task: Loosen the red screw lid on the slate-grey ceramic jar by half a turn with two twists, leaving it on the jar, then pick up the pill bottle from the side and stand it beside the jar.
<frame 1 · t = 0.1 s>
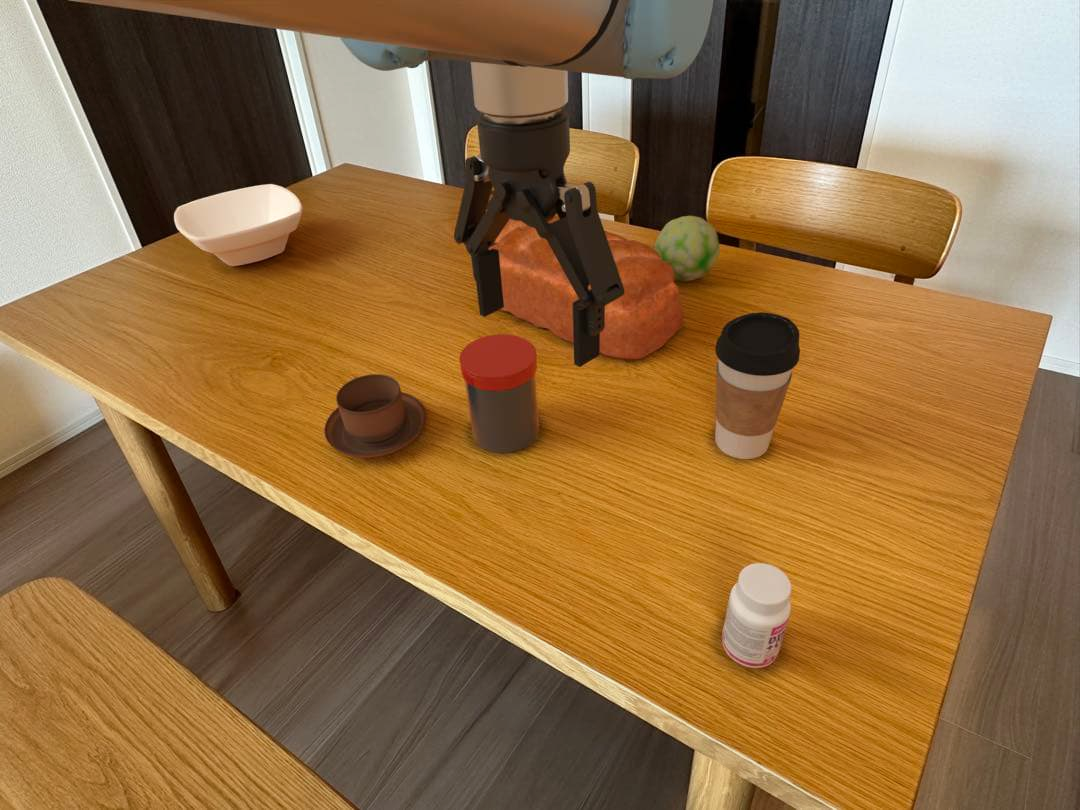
hand: (536, 334, 69), 17 cm above the table, tool pointing down, fingers open, 13 cm apart
jar: (506, 430, 83), on the table
bread: (577, 312, 104), on the table
jar lid: (498, 357, 77), point 11 cm above the table, screwed on, not yet turned
cup and saucer: (378, 434, 84), on the table
pill bottle: (749, 645, 59), on the table
decorative ball: (684, 278, 111), on the table
bowl: (253, 255, 126), on the table
coffee cup: (741, 443, 80), on the table
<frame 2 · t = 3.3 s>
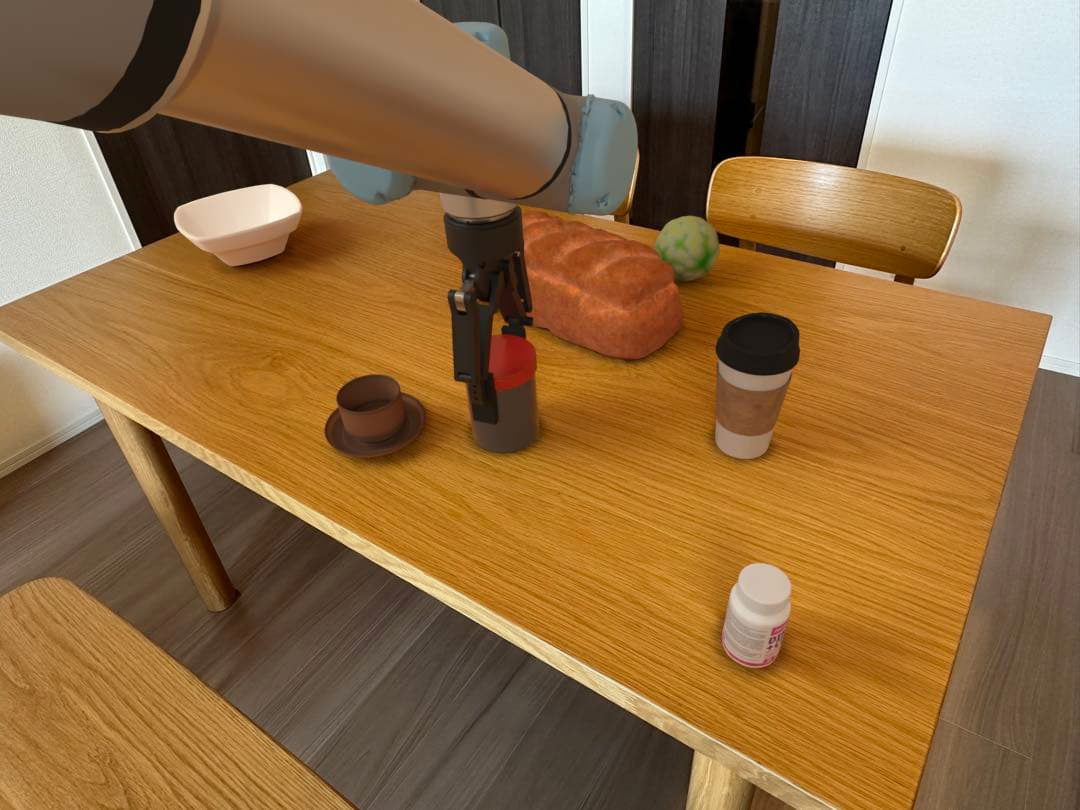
hand: (502, 396, 80), 5 cm above the table, tool pointing down, fingers closed on jar lid, 8 cm apart
jar lid: (498, 357, 77), point 11 cm above the table, screwed on, not yet turned, touching gripper
everything else where it was.
when the fingers open (5 cm above the table, at t = 5.0 s): jar lid stays where it is, point 11 cm above the table.
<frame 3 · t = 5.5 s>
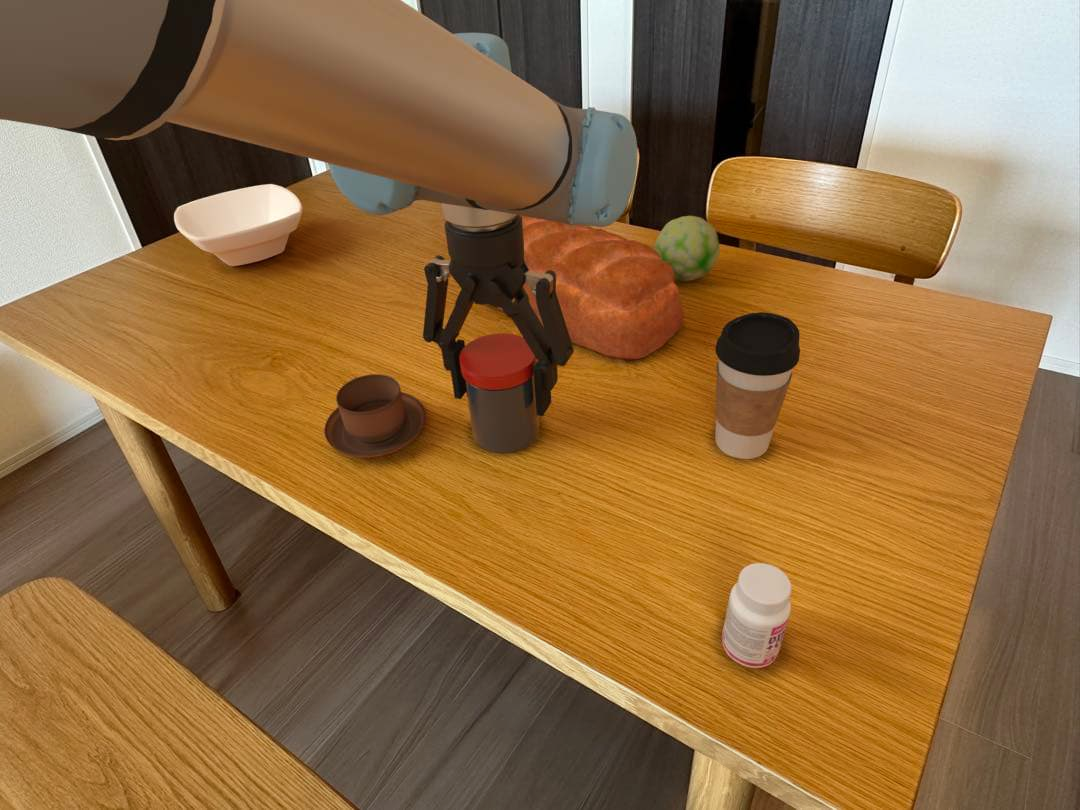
hand: (502, 400, 80), 5 cm above the table, tool pointing down, fingers open, 10 cm apart
jar lid: (498, 356, 77), point 11 cm above the table, turned 89° so far, risen 0.1 cm, still on its thread
everything else where it was.
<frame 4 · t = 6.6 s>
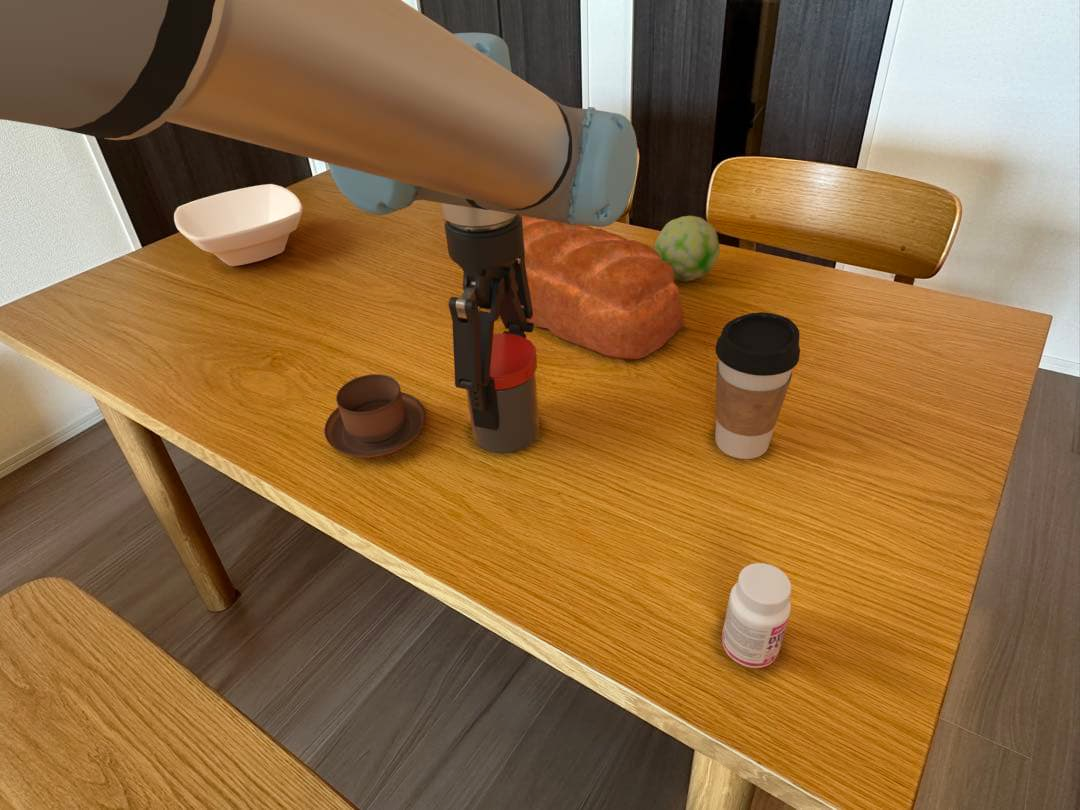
hand: (502, 402, 80), 4 cm above the table, tool pointing down, fingers closed on jar lid, 8 cm apart
jar lid: (498, 356, 77), point 11 cm above the table, turned 89° so far, risen 0.1 cm, still on its thread, touching gripper
everything else where it was.
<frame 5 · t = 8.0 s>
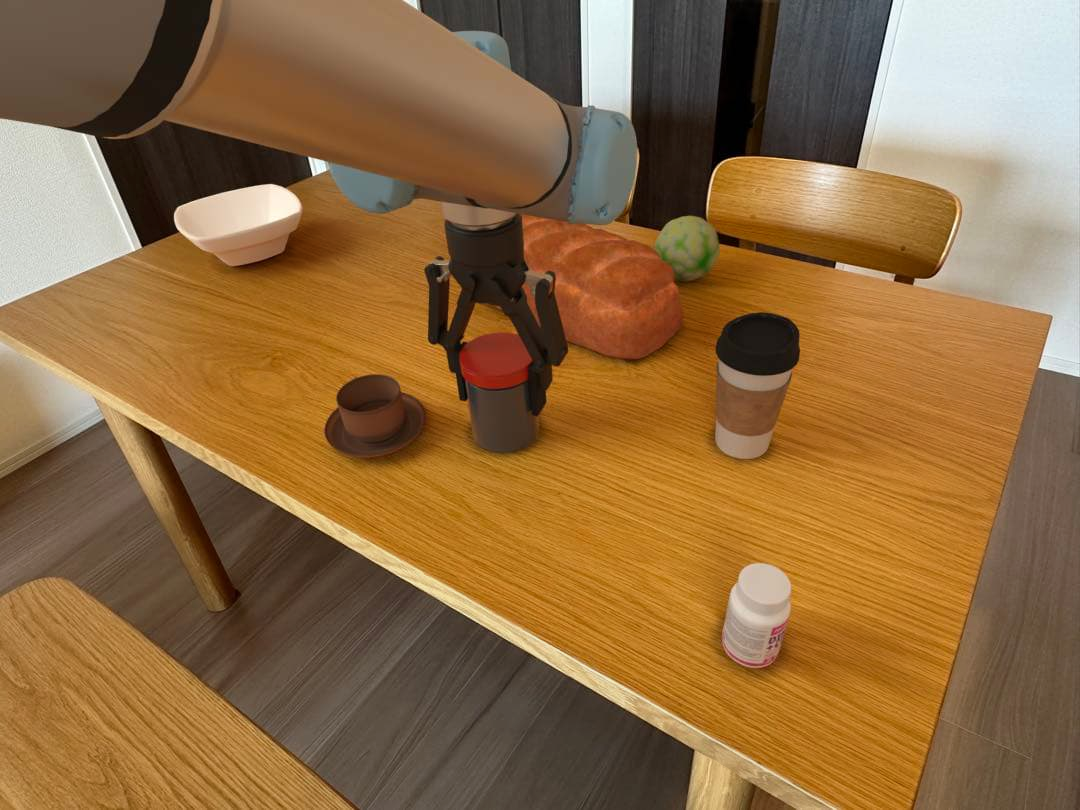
hand: (502, 401, 80), 4 cm above the table, tool pointing down, fingers closed on jar lid, 8 cm apart
jar lid: (497, 355, 76), point 11 cm above the table, turned 179° so far, risen 0.2 cm, still on its thread, touching gripper
everything else where it was.
when the fingers open (4 cm above the table, at t = 8.2 s): jar lid stays where it is, point 11 cm above the table.
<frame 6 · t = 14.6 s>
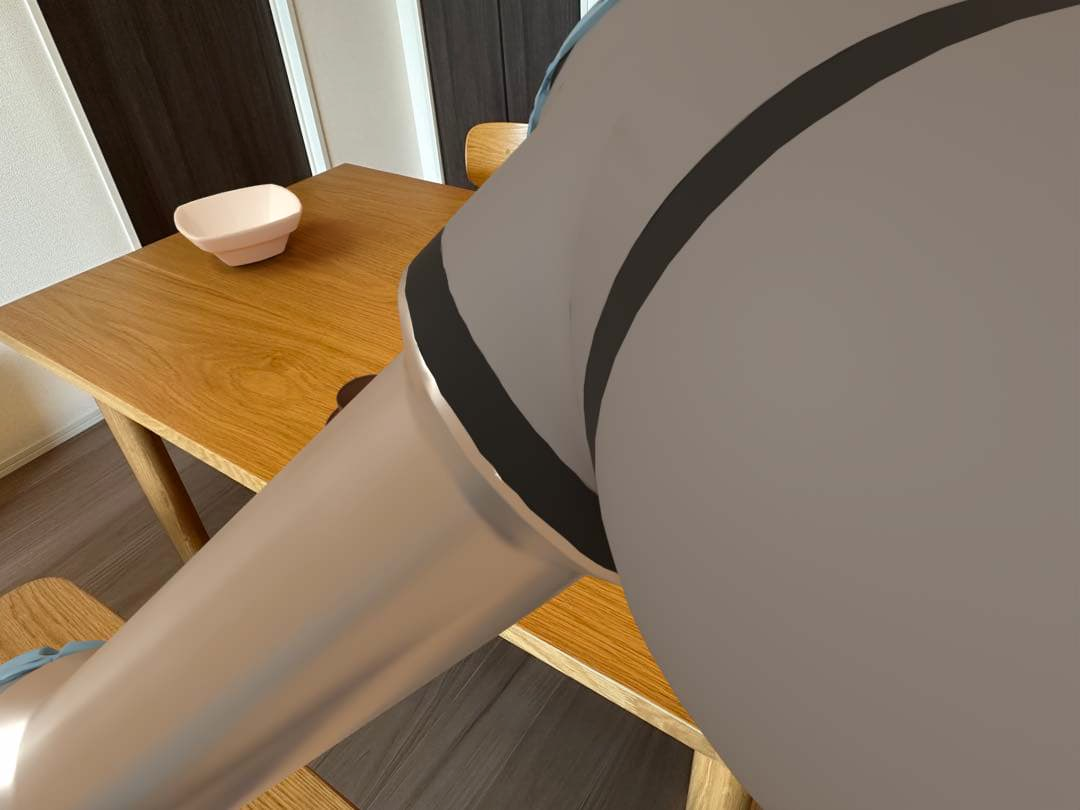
hand: (803, 507, 48), 17 cm above the table, tool horizontal, fingers open, 10 cm apart
jar lid: (497, 355, 76), point 11 cm above the table, turned 179° so far, risen 0.2 cm, still on its thread
everything else where it was.
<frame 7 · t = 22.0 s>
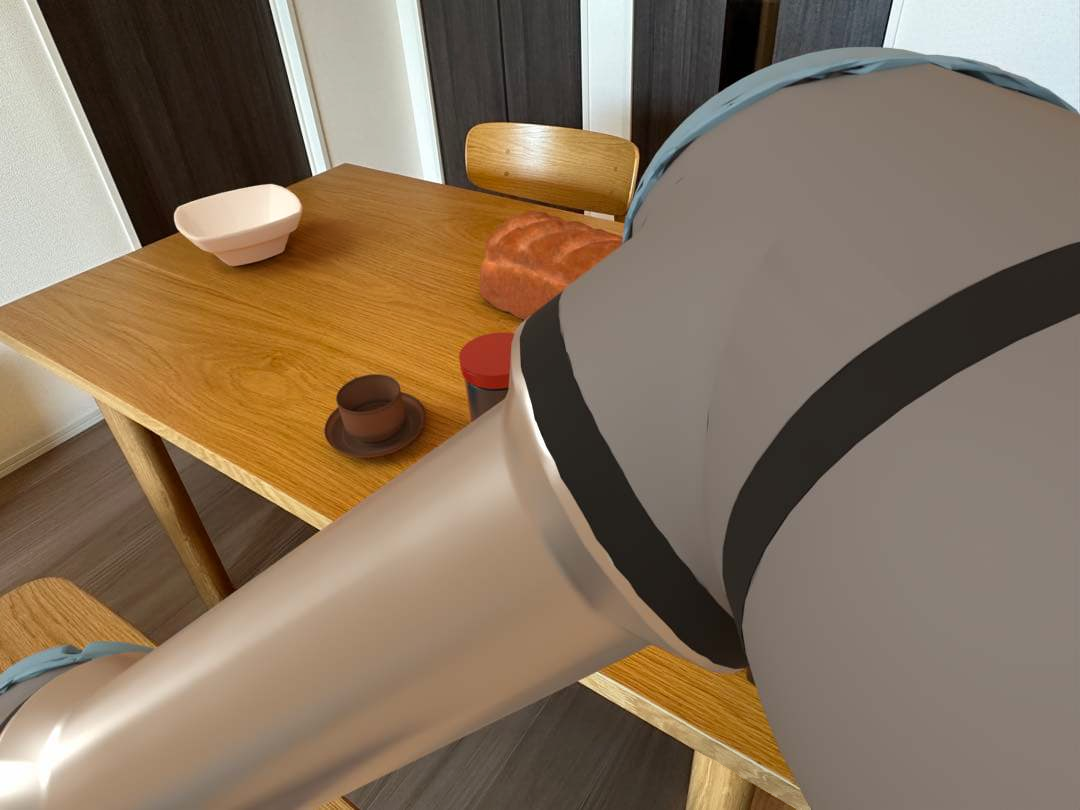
hand: (701, 568, 58), 6 cm above the table, tool horizontal, fingers closed on pill bottle, 5 cm apart
pill bottle: (749, 645, 59), on the table, touching gripper
everything else where it was.
when the fingers open (6 cm above the table, at t = 31.0 s): pill bottle stays where it is, on the table.
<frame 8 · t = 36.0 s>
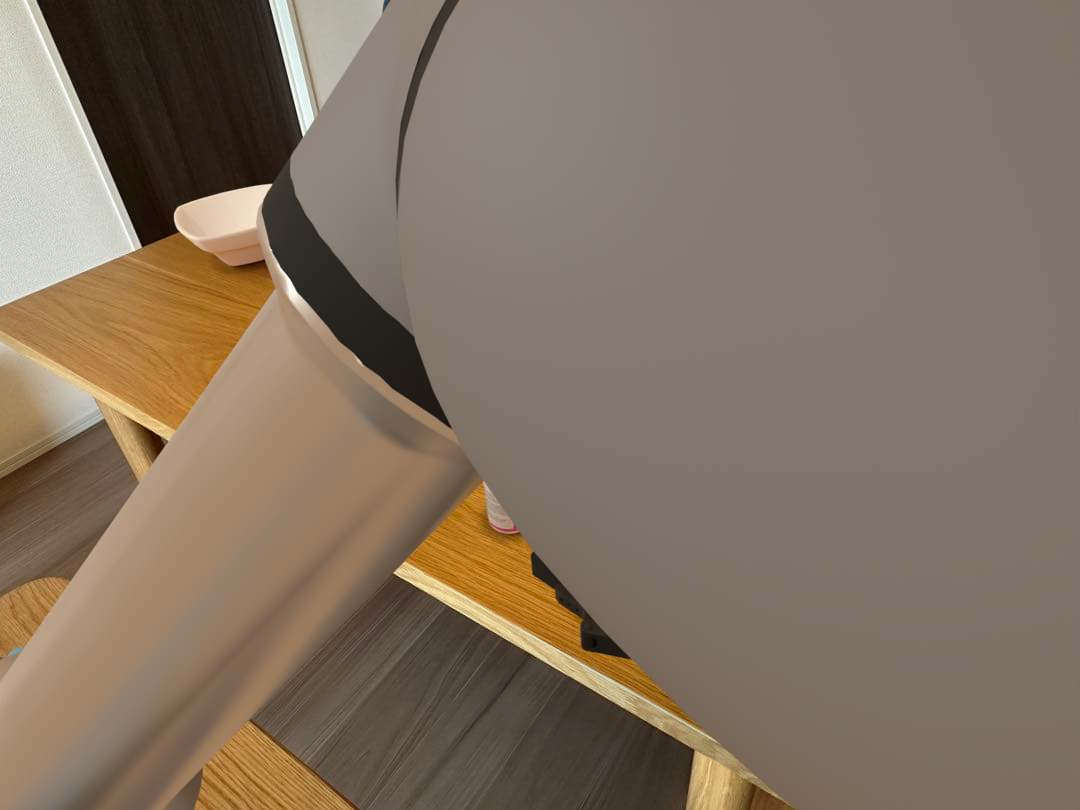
hand: (583, 514, 62), 7 cm above the table, tool horizontal, fingers open, 13 cm apart
pill bottle: (511, 519, 72), on the table
everything else where it was.
at the end: jar lid turned 0.50 turns (still on its thread); jar lid is still on its thread (0.50 turns); pill bottle inside the target area on the table beside the jar (0.1 cm from its centre), on the table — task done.
